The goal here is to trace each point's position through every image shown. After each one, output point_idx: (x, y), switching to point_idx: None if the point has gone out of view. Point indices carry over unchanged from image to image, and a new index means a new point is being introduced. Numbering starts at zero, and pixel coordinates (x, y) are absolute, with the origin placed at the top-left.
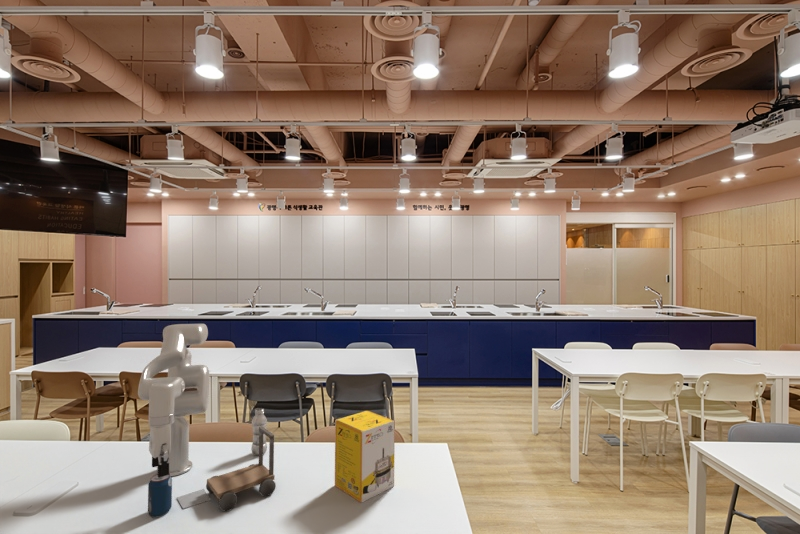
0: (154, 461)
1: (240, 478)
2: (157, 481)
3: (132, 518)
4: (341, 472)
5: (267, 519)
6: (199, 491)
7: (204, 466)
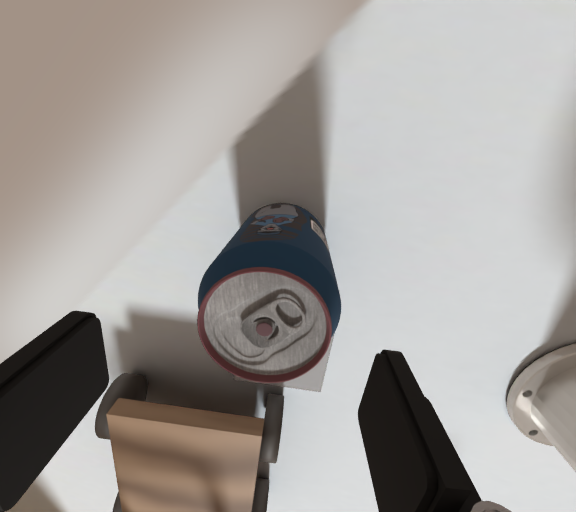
0: (392, 412)
1: (177, 493)
2: (205, 293)
3: (322, 149)
4: None
5: None
6: (314, 378)
7: (485, 451)
